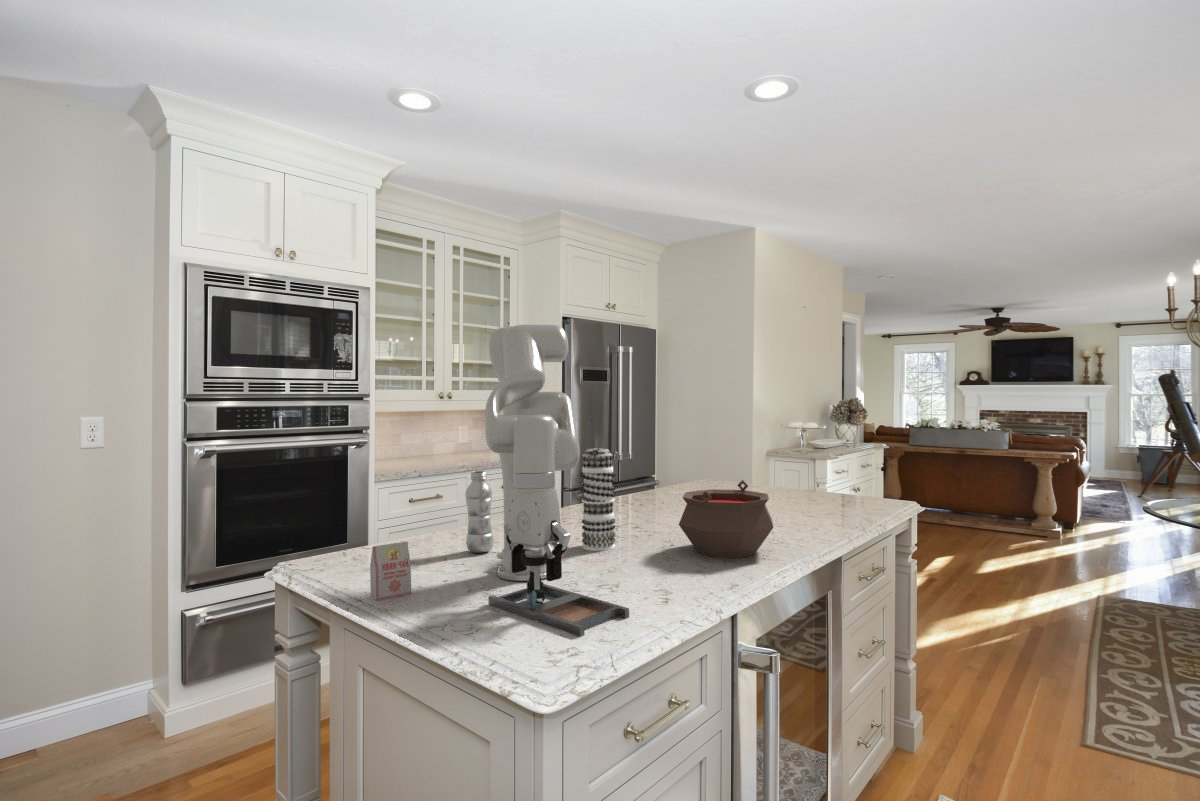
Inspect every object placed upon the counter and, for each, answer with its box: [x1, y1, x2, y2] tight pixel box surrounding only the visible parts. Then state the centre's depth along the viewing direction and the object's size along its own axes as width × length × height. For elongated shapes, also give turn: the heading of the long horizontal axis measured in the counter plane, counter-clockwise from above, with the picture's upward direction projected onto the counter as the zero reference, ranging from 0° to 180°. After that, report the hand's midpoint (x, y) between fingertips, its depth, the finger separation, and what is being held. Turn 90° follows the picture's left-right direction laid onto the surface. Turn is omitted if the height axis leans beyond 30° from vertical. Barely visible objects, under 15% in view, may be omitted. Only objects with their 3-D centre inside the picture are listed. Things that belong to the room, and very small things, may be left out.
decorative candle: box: [579, 447, 617, 552], centre depth 161 cm, size 9×9×25 cm
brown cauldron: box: [678, 479, 774, 559], centre depth 155 cm, size 24×24×16 cm
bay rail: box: [487, 583, 630, 638], centre depth 113 cm, size 24×12×2 cm, turn 47°
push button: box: [520, 547, 549, 606], centre depth 117 cm, size 7×5×10 cm
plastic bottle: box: [464, 470, 495, 554], centre depth 157 cm, size 6×7×20 cm
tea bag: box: [369, 541, 412, 602], centre depth 124 cm, size 4×7×10 cm, turn 126°
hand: (536, 575), depth 116 cm, fingers open, 9 cm apart
